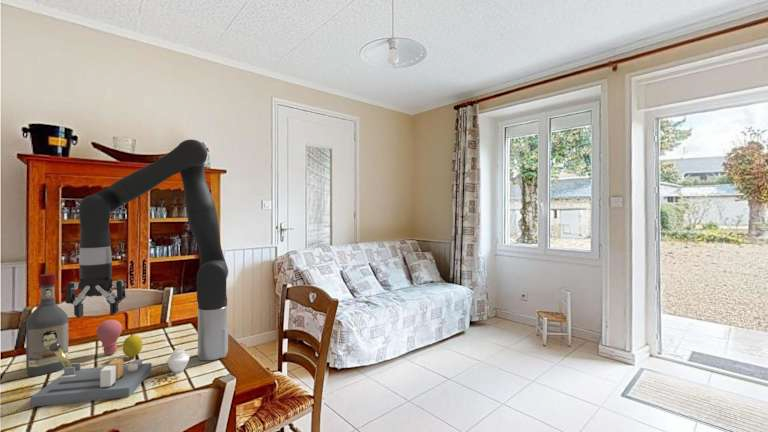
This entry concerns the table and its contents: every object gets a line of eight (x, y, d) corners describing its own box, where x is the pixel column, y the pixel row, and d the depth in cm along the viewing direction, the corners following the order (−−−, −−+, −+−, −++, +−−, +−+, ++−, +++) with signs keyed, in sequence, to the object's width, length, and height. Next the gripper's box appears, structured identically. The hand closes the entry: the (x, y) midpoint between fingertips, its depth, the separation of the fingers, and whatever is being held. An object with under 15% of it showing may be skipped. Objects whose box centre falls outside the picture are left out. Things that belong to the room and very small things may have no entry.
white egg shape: (168, 368, 114) (168, 346, 114) (190, 364, 116) (190, 343, 116) (165, 376, 108) (165, 353, 108) (188, 372, 111) (188, 350, 111)
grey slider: (115, 381, 99) (115, 365, 99) (110, 386, 96) (110, 369, 96) (105, 382, 98) (105, 366, 98) (100, 387, 95) (100, 370, 95)
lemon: (132, 361, 118) (132, 337, 118) (118, 360, 119) (118, 336, 119) (146, 355, 123) (146, 332, 123) (133, 353, 125) (133, 331, 124)
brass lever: (77, 364, 106) (60, 339, 105) (72, 368, 104) (54, 342, 102) (68, 369, 106) (50, 344, 104) (63, 373, 103) (44, 347, 102)
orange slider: (123, 374, 103) (123, 358, 103) (118, 378, 100) (118, 362, 100) (113, 374, 103) (113, 359, 102) (108, 379, 100) (108, 363, 100)
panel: (151, 370, 112) (151, 356, 112) (129, 396, 96) (129, 380, 96) (68, 378, 106) (68, 363, 106) (30, 406, 91) (30, 389, 91)
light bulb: (91, 356, 122) (91, 321, 122) (114, 348, 128) (114, 316, 128) (104, 359, 119) (104, 324, 119) (126, 352, 126) (126, 318, 126)
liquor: (25, 369, 111) (25, 274, 111) (64, 360, 118) (64, 271, 118) (28, 378, 105) (28, 278, 105) (69, 368, 112) (69, 274, 112)
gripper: (128, 259, 111) (129, 310, 111) (74, 261, 107) (75, 314, 108) (117, 263, 104) (118, 317, 104) (59, 264, 100) (60, 321, 100)
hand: (96, 315), depth 106 cm, fingers open, 8 cm apart
